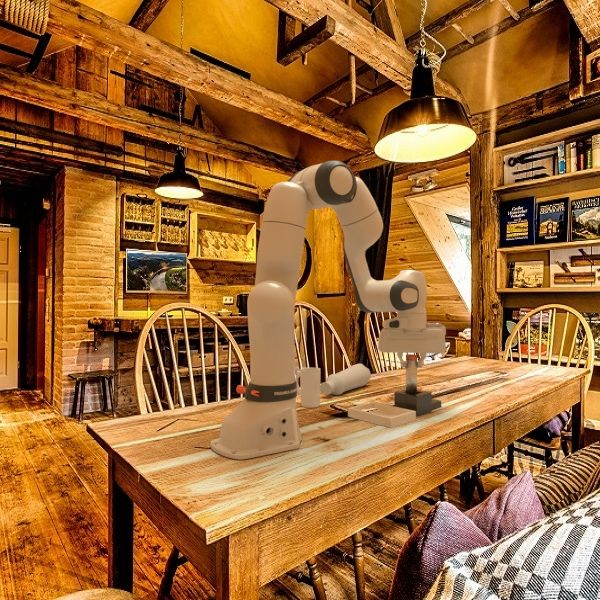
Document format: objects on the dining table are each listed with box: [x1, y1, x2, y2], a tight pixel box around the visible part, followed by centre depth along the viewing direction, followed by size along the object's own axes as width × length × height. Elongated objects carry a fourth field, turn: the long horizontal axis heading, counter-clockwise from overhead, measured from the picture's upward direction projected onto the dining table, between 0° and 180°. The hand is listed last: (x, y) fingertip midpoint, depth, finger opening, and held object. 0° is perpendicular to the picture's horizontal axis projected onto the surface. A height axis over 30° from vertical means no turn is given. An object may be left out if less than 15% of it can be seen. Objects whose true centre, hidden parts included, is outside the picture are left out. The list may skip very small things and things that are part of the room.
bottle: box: [320, 363, 372, 396], centre depth 160 cm, size 9×9×30 cm
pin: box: [405, 353, 418, 394], centre depth 129 cm, size 3×3×12 cm
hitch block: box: [393, 389, 442, 418], centre depth 132 cm, size 16×8×6 cm, turn 131°
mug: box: [295, 367, 321, 409], centre depth 139 cm, size 10×7×12 cm, turn 47°
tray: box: [347, 401, 417, 429], centre depth 122 cm, size 12×16×2 cm
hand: (411, 367), depth 129 cm, fingers closed on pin, 3 cm apart
